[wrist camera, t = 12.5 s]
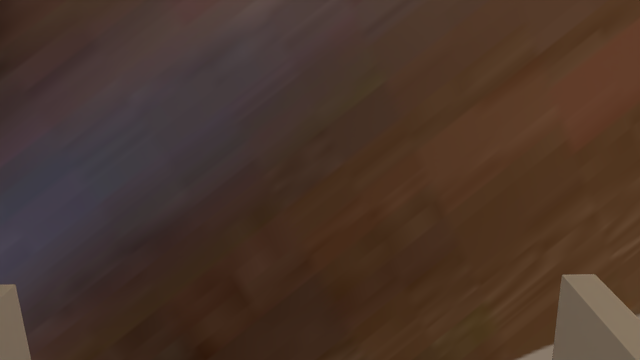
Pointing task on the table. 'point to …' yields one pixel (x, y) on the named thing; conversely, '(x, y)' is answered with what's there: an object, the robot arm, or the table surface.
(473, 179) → the table surface
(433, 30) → the table surface
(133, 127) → the table surface
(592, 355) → the robot arm
